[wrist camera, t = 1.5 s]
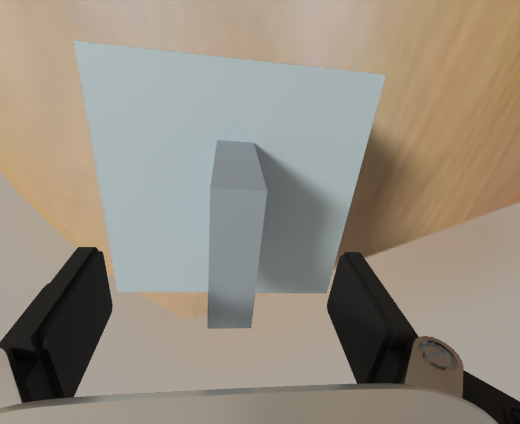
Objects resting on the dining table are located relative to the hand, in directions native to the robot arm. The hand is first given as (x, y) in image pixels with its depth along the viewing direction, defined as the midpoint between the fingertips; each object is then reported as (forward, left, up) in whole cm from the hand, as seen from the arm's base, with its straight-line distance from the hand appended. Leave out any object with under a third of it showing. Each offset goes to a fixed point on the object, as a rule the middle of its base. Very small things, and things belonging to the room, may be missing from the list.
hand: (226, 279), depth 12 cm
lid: (0, 0, -9) cm, 9 cm away
